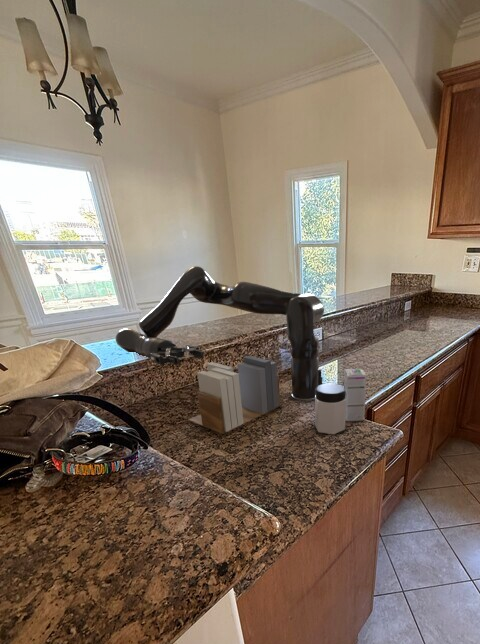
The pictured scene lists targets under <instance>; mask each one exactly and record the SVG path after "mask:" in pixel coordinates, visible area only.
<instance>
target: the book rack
mask: <svg viewBox="0 0 480 644" xmlns="http://www.w3.org/2000/svg"><path fill="white" fill-rule="evenodd" d="M277 382H278V402H279V406H278V407H276V408H274V409H272V410H270V411H274V410H275V409H277V408H279V407H281V406H282V404H281V394H280V393H281V392H280V375H279V374H277ZM197 399H198V400H197V401H198V407H199V413H200V414H198V415H195V416H192V417H191V418H188V421H191V422H193V423H194V424H198V425H200V426H202V427H205V428H207V429H210V430H212V431H215V432H217V433H219V434H222V435H224V434H225V433H228V432H230V431H232V430H234V429H237V428H238V427H239V426H237V427H235V428H233V429H231V430H229V431H227V432H225V431H224V427H223V419H222V411H221V403H220V398H218V397H215V396H212V395H209V394H206V393H203V392H200V391H198V392H197ZM270 411H268V412H266V413H264V414H267V413H269V412H270ZM242 414H243V424H242V425H244V424H246V423H248V422H250V421H253V420H254V419H256V418H259V417H260V416H262V415H264V414H260V413H257V412H254V411H252V410H249V409H246V408H243V407H242Z"/></svg>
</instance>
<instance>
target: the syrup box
mask: <svg viewBox="0 0 480 644" xmlns="http://www.w3.org/2000/svg"><path fill="white" fill-rule="evenodd" d="M343 374H344V375H343V376H344V378H343V387H345V389H346V390H345V391H346V395H345V399H346V418H345V422H362V421H365V413H366V395H367V394H366V393H367V392H366V391H367V389H366V388H367V374H366V372H365V370H364V369H363V368H346V369H344V373H343Z"/></svg>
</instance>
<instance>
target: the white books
mask: <svg viewBox="0 0 480 644" xmlns="http://www.w3.org/2000/svg"><path fill="white" fill-rule="evenodd" d="M196 375H197V381H198V386H199V387H198V388H199V392H203V393H206V394H209V395H212V396H215V397H218V398H220V403H221V411H222V419H223V427H224V431H225V432H226V433H228V432H230V431H232V430H234V429H236V428H238V427H240V426H242V425H244V424H243V414H242V404H241V394H240V384H239V374H238V372H231V371H227V370H224V369H220V368H213V369H211V371H208V370H206V371H205V370H201V371H197V372H196ZM237 426H238V427H237ZM235 427H236V428H235ZM233 428H234V429H233ZM231 429H232V430H231ZM229 430H230V431H229ZM227 431H228V432H227Z"/></svg>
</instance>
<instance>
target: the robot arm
mask: <svg viewBox="0 0 480 644" xmlns="http://www.w3.org/2000/svg"><path fill="white" fill-rule="evenodd" d="M189 294H190V296H192V297H193V298H194V299H195V300H196V301H198V302H200V303H205V304H213V305H220V306H226V307H229V308H233V309H237V310H241V311H244V312H248V313H252V314H258V315H282V316H285V317H286V331H287V338H288V341H289V343H290V370H291V371H290V372H291V381H290V384H291V396H292V397H293V398H294V399H297V400H305V401H306V400H314V401H315V395H316V387H317V386H319V385H322V384H323V376H322V369H321V368H320V340H319V338H318V337H317V336H316V335H315V331H314V330H315V329H314V324H316V323H317V322H319V321H320V320H321V319H322V318H323V316H324V313H325V307H324V304H323V302H322V301H321V299H320V298H319V297H317V296H316V295H314V294H311V293H296V292H290V291H289V292H288V291H284V290H280V289H278V288H277V289H276V288H274V287H270V286H266V285H263V284H258V283H253V282H249V281H239V282H236V283H233V284H232V285H227V284H222V283H219V282H217V281H215V280H214V279H213V278H212V277H211V276H210V274H208V272H207V270H205V269H204V268H202V267H201V266H198V265H195V266H192V267H190V268H188V269H187V270H185V272H184V273H183V274H182V275H181V276H180V277H179V278H178V280H177V281H176V282H175V283H174V285H173V286H172V287H171V289H170V290H169V291H168V292H167V294H166V295H165V296H164V298H163V299H162V300H161V301H160V303H158V304H157V306H155V307H154V308H153V309H152V310H151V311H150V312H149V313H148V314H146V315H145V316H144V317H143V318H142V319H141V320H140V321H139V322H138V326H139V328H140V330H141V332H142V333H143V334H142V333H141V332H139V331H137V330H134V329H132V328H123V329H120V330H119V331H118V332H116V335H115V343H116V344H117V346H119V348H121V349H123V350H124V351H126V352H127V353H129V352H136V353H138V354H139V355H142V356H141V357H144V356H146V357H145V358H147V357H148V358H147V359H149V360H151V362H152V363H154V364H157V365H159V366H163V365H165V364H167V365H170V364H172V365H176V366H179V365H180V364H181V363H180V360H181V359H190V358H197V359H204V352H203V351H202V350H200V349H201V347H199V346H195V345H190V344H186V345H185V346H179V345H177V344H176V343H175V342H173V341H172V340H169V339H165V338H161V337H160V338H159V337H158V336H159V335H160V334H162V333H163V332H164V331H165V330H166V329H167V328H168V327H169V326H170V325H171V324H172V323H173V322H174V319H175V316H176V313H177V311H178V308H179V306H180V303H182V301H183V300H184V299H185V298H186V297H187V296H188V295H189Z"/></svg>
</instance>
